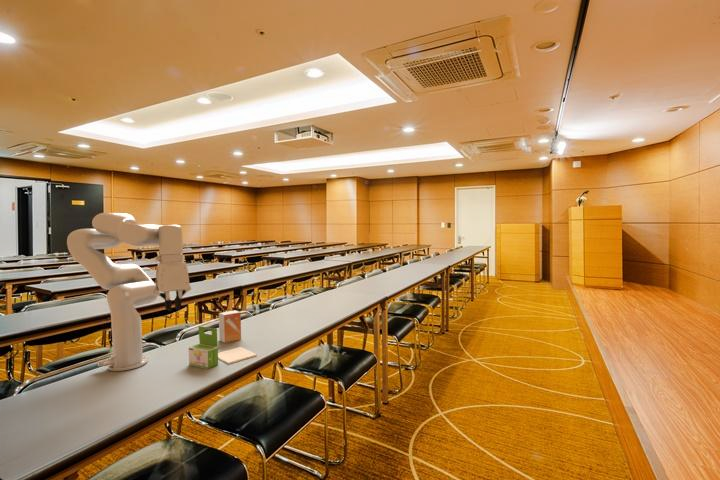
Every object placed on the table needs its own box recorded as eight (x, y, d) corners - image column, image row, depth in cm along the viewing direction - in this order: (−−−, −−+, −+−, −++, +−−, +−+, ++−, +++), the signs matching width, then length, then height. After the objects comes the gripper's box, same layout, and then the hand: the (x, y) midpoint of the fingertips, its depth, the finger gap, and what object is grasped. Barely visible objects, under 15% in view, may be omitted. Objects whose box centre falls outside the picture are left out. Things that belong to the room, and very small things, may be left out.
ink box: (188, 365, 134) (187, 329, 134) (199, 360, 139) (198, 325, 139) (207, 369, 130) (206, 332, 129) (219, 364, 135) (217, 328, 134)
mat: (228, 364, 134) (228, 362, 134) (213, 355, 144) (213, 354, 144) (256, 355, 143) (256, 354, 143) (240, 348, 153) (240, 346, 152)
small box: (224, 343, 160) (223, 315, 159) (219, 340, 164) (218, 312, 164) (241, 339, 165) (240, 311, 165) (235, 336, 170) (235, 309, 170)
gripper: (149, 261, 118) (151, 315, 118) (198, 257, 129) (200, 307, 130) (143, 260, 123) (145, 312, 124) (190, 257, 134) (192, 304, 135)
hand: (173, 309), depth 127 cm, fingers closed
